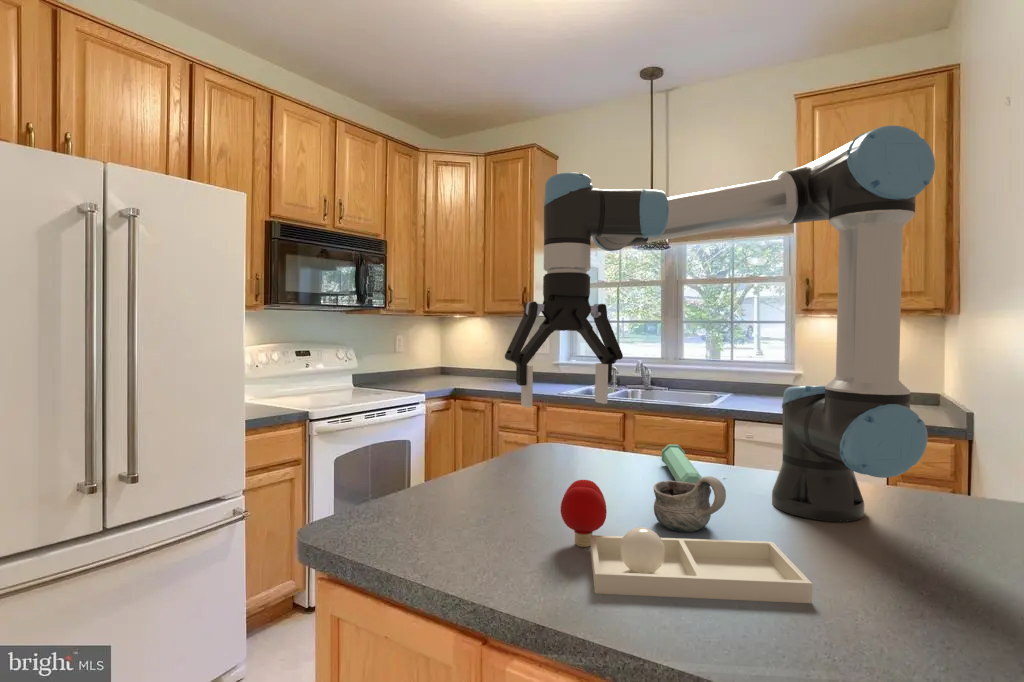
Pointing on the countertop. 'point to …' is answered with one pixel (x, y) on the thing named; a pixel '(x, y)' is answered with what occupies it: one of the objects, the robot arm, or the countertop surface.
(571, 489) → the red rounded piece
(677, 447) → the green octagonal rod
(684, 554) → the tray
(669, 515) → the mug
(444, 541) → the countertop surface
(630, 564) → the egg
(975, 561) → the countertop surface
